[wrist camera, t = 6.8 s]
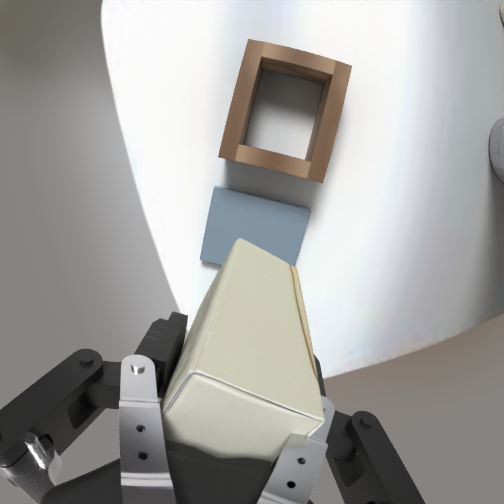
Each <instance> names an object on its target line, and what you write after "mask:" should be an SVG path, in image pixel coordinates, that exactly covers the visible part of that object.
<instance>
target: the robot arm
mask: <svg viewBox="0 0 504 504" xmlns="http://www.w3.org/2000/svg"><path fill="white" fill-rule="evenodd" d="M489 145H490V158H491V162H492V166H493V168H494V171H495V173H496V175H497V176H498V178H499V179H500V180H501V181H502V182H503V183H504V118H503V119H500V120H499V121H497V123H496V124H495V125H494V127H493V129H492V132H491V136H490V144H489ZM187 319H188V315H184V314H181V313H177V312H172V314H171V316H170V317H169V320H164V319H161V318H160V319H158V320H157V321H155V322H153V323H152V325H151V326H150V328H149V330H148V331H147V333H146V335H145V336H144V338H143V340H142V341H141V343H140V345H139V346H138V348H137V350H136V352H135V353H134V355H130V356H127V357H126V358H124V360H123V361H122V362H108V361H103V360H102V357H101V355H100V354H99V353H98V352H96V351H94V350H91V349H81V350H78V351H76V352H74V353H73V354H72V355H70V356H69V357H68V358H66V359H65V360H64V361H62V362H61V363H60V364H59V365H57V366H56V367H55V368H53V369H52V370H51V371H49V372H48V373H47V374H45V375H44V376H43V377H42V378H40V379H39V380H38V381H37V382H36V383H34V384H33V385H31V386H30V387H29V388H27V389H26V390H25V391H24V392H22V393H21V394H20V395H18V396H17V397H16V398H15V399H13V400H12V401H11V402H10V403H9V404H7V405H6V406H5V407H3V408H2V409H1V410H0V473H1V474H2V475H3V476H4V477H6V478H7V479H8V480H9V481H10V482H11V483H12V484H13V485H14V486H17V487H19V488H21V489H22V490H23V491H24V492H25V493H26V494H27V495H28V496H29V497H30V498H31V499H32V500H33V501H35V502H36V503H37V504H313V503H312V501H311V500H310V499H309V498H310V496H311V493H312V491H313V488H314V485H315V483H316V480H317V477H318V474H319V471H320V468H321V466H322V463H323V460H324V457H325V455H326V458H327V461H328V463H329V466H330V468H331V471H332V473H333V476H334V478H335V480H336V483H337V485H338V488H339V490H340V493H341V495H342V498H343V500H344V503H345V504H425V502H424V500H423V498H422V497H421V495H420V493H419V491H418V489H417V487H416V486H415V484H414V482H413V480H412V479H411V477H410V475H409V473H408V471H407V470H406V468H405V466H404V464H403V462H402V461H401V459H400V457H399V455H398V454H397V452H396V450H395V448H394V447H393V445H392V443H391V441H390V440H389V438H388V436H387V434H386V433H385V431H384V429H383V427H382V426H381V424H380V422H379V420H378V419H377V418H376V417H375V416H374V415H373V414H371V413H369V412H366V411H358V412H356V413H354V414H353V416H349V415H346V414H343V413H340V412H338V411H336V410H335V407H334V405H333V403H332V402H331V401H330V400H329V399H327V398H326V394H325V389H324V383H323V378H322V373H321V367H320V362H319V361H318V359H317V358H316V356H315V355H314V359H315V364H316V370H317V376H318V382H319V388H320V394H321V399H322V405H323V412H324V417H325V421H324V423H323V425H322V426H321V427H319V428H318V429H317V430H316V431H315V432H314V433H313V434H312V435H311V436H310V437H308V436H306V435H301V434H295V433H291V435H290V436H289V438H288V440H287V441H286V443H285V444H284V446H283V447H282V449H281V450H280V452H279V454H278V455H277V457H276V458H275V459H274V461H273V462H272V464H271V461H267V460H259V459H252V458H217V457H214V456H212V455H209V454H207V453H205V452H203V451H200V450H198V449H196V448H194V447H192V446H188V445H184V444H180V443H176V442H173V441H169V440H166V443H164V436H163V429H162V421H161V413H160V405H159V402H158V399H157V397H159V398H161V399H162V398H163V396H164V394H165V391H166V389H167V386H168V384H169V381H170V379H171V376H172V374H173V371H174V369H175V367H176V364H177V362H178V359H179V357H180V354H181V351H182V348H183V344H184V339H185V333H186V326H187ZM105 408H110V409H119V445H120V458H119V459H117V460H115V461H112V462H110V463H108V464H106V465H104V466H102V467H100V468H97V469H96V470H93V471H91V472H88V473H86V474H84V475H81V476H79V477H77V478H75V479H72V480H70V481H67V482H65V483H62V484H59V485H57V484H56V480H57V476H58V475H59V473H60V471H61V469H62V463H61V460H60V458H59V456H60V455H61V454H62V453H63V452H64V451H65V450H66V449H67V448H68V447H69V446H70V445H71V444H72V442H74V440H75V439H76V438H77V437H78V436H79V435H80V434H81V433H82V432H83V431H84V430H85V429H86V428H87V427H88V426H89V425H90V424H91V423H92V422H93V421H94V420H95V419H96V418H97V417H98V416H99V415H100V414H101V413H102V412H103V410H105Z"/></svg>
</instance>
